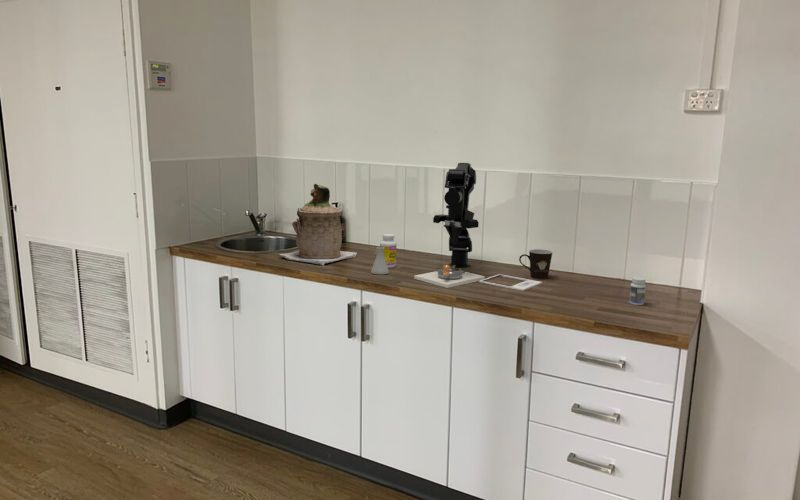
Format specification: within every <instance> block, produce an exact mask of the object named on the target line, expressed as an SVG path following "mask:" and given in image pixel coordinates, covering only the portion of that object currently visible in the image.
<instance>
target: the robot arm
mask: <svg viewBox="0 0 800 500" xmlns="http://www.w3.org/2000/svg"><path fill="white" fill-rule="evenodd" d="M471 165H472V164H471V163H469V162H459V163H457V166H456V168H449V169H448V171H447V172H446V175H445V181H444V182H445V183H444V188H445V189H448V191H446V193H445V194H444V196H443V198H444V199H443V200H444V202H445V204H446V205H445V209H447V210H448V211H447V214H443V213H442V214H435V215H434V216H433V218H432V219H433V220H432V223H434V224H440V223H441V222H442V223H443V222H444V225H443V227H444V228H445V230H446V231H447V233H448V236H449V237H448V251H449V252H451V256H450V257H451V259H450V262H451V263H448V265H450V267H452V265H455V267H456V268H458V269H462V268H465V267H470V266H471V264H470V263H468V258H469V257H468V255H469V253H471V252H473V241H472V239H471V237H470V233H469V231H468V230H469V229H475V228H479V223H480V222H479V221H478V219H475V218H474V216H475V212H473V211H470V210H469V206H470V205H469V204H470V203H469V202H470V195H471V193H472V192H473V191H474V189H475V185H476V184H477V172H476V171H477V170H475V168H473V167H472V166H471ZM455 267H454V268H455Z"/></svg>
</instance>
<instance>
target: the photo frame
mask: <svg viewBox="0 0 800 500" xmlns="http://www.w3.org/2000/svg"><path fill="white" fill-rule="evenodd" d="M499 276H501V277H503V278H509V279H514V280H521V281H522V282H519V283H516V284H514V285H511V286H510V285H505V284H499V283H493V282H489V281H487V280H489V279H492V278H496V277H499ZM478 283H483V284H485V285H486V284H487V285H492V286H497V287H500V288H501V287H502V288H507V289H513V290H516V291H522V292H523V291H526V290H529V289H531V288H534V287H536V286H539V285H541V284H543V281H540V280H539V281H538V280H534V279H527V278H523V277H517V276H513V275H512V276H511V275H507V274H500V273H499V274H496V275H492V276H489V277H485V279H483V280H480V281H478Z"/></svg>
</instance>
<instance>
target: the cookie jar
mask: <svg viewBox="0 0 800 500" xmlns="http://www.w3.org/2000/svg"><path fill="white" fill-rule="evenodd" d="M330 194H331V191H330V189H329V187H327V186H324V185H320V184H318V183H314V184H313V188H312V189H311V190H310V196H311V197H312V199H311V200H309V202H307V203H305V204H304V206H302V207H301V206H299V207H298V208H297V211H296V215H297V217H298V218H296V220H295V221H293V222H292V223H291V226H292V228H293V229H294V232H295V233H296V236H295V238H296V240H295V245H296V246H297V248H298V250H295V251H291V252H287V253H279V254H278V255H279V256H280V257H281V258H285V259H286V260H289V261H295V262H296V261H297V262H303V263H304V262H305V263H310V264H314V265H315V264H316V265H321V266H323V267H324V266H325V264H328V263H329V264H330V263H333V262H334V263H335V262H337V261H342V260H346V259H353V258H356V257H357V254H358V253H357V252H355V251H343V250H341V248H342V242H343V241H342V240H343V235H342V231H343V230H342V225H341V224H342V223H341V217H340V216H341V215H342V213H343V210H342V209H340V208H336V207H335V206H332V205H331V204H330V203H329V202H330V199H331V198H330V197H331V195H330Z"/></svg>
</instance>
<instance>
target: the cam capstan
mask: <svg viewBox="0 0 800 500" xmlns="http://www.w3.org/2000/svg"><path fill="white" fill-rule="evenodd" d="M460 269H461V268H457V267H456V268H455V265H452V266H451V265H449V264H443V266H442V268H439V269H437V271H438V277H439V278H443V279H460V278H462V271H463V270H462V269H461V270H460Z"/></svg>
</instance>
